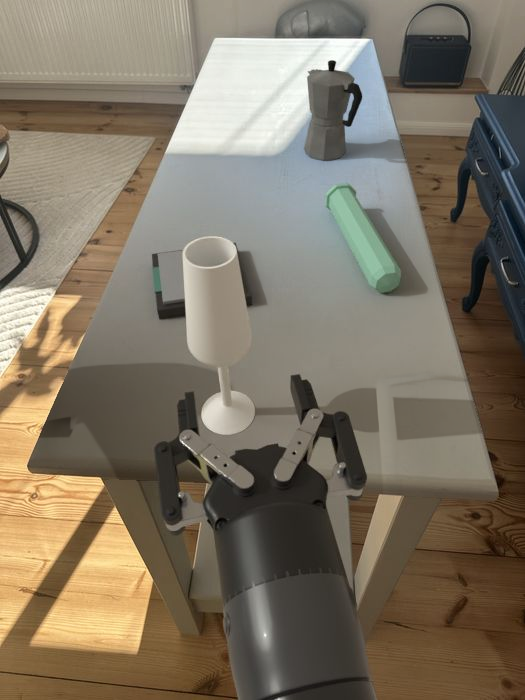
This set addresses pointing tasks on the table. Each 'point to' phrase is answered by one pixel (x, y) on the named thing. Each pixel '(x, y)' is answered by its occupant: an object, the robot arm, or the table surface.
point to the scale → (178, 283)
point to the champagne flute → (218, 326)
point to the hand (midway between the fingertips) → (243, 389)
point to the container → (363, 238)
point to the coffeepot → (330, 111)
